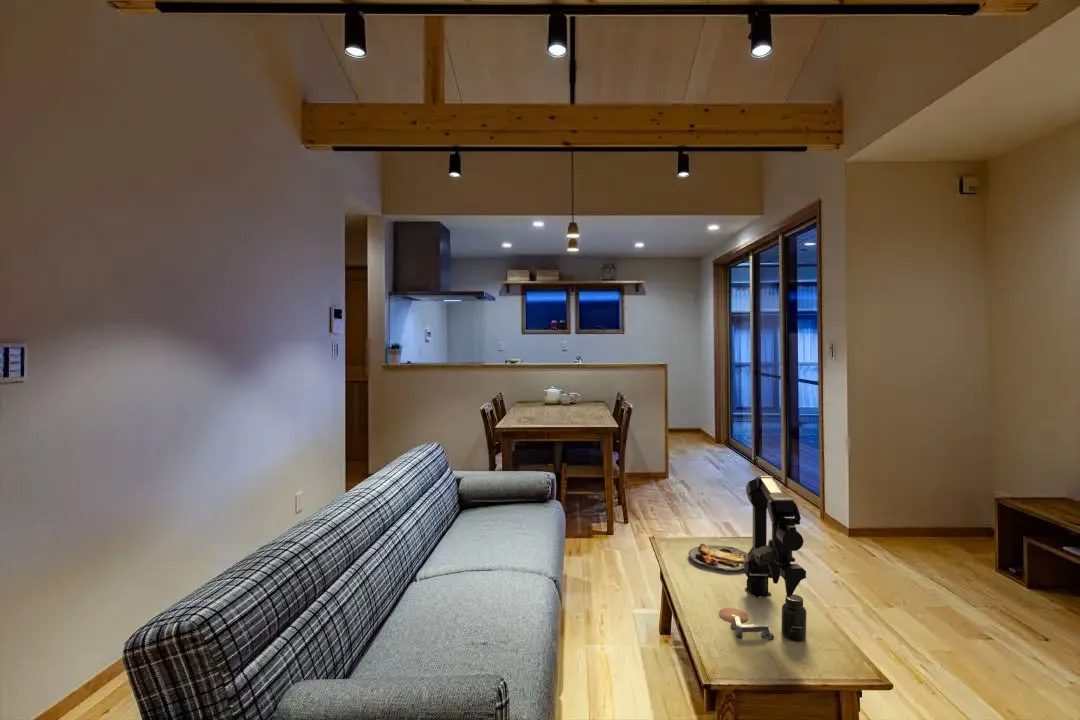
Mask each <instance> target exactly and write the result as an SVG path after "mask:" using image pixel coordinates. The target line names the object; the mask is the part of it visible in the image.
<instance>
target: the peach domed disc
mask: <svg viewBox="0 0 1080 720" xmlns="http://www.w3.org/2000/svg"><path fill="white" fill-rule="evenodd" d="M718 616H719V617H720V618H721V619H722V620H724V621H726V622H729V623H735V622H734V616H739V618H740V621H741V624H742V623H745V622H747V621H748V620H749V615H748V614H747V612H745V611H744V610H741V609H739V608H734V607H725V608H724V607H723V608H721V609H720V610H719V611H718Z"/></svg>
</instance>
